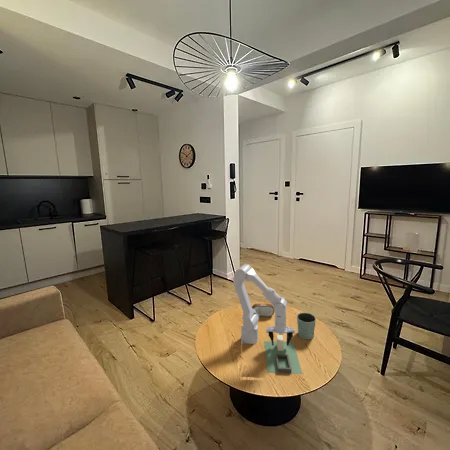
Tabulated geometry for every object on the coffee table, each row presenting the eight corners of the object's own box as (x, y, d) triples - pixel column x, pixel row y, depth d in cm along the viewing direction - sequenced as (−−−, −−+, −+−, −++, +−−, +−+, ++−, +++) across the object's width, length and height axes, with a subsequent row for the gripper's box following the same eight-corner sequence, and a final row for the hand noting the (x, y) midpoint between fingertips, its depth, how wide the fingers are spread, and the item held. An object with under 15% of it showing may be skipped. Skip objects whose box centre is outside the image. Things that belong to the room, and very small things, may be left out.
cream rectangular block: (277, 350, 128) (277, 340, 127) (276, 343, 134) (276, 334, 132) (283, 350, 128) (283, 340, 127) (282, 344, 133) (282, 334, 132)
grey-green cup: (318, 335, 141) (319, 316, 138) (309, 344, 134) (310, 324, 131) (301, 328, 148) (302, 310, 145) (293, 336, 141) (293, 317, 139)
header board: (267, 374, 115) (267, 368, 114) (264, 342, 136) (264, 338, 136) (302, 375, 113) (302, 370, 113) (293, 343, 135) (293, 338, 134)
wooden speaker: (274, 314, 164) (274, 302, 162) (274, 317, 161) (274, 305, 159) (251, 314, 164) (251, 303, 163) (251, 317, 161) (251, 305, 160)
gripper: (266, 325, 124) (266, 349, 127) (296, 326, 123) (295, 350, 125) (265, 317, 131) (265, 340, 134) (293, 318, 130) (293, 341, 132)
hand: (280, 344), depth 130 cm, fingers open, 7 cm apart
